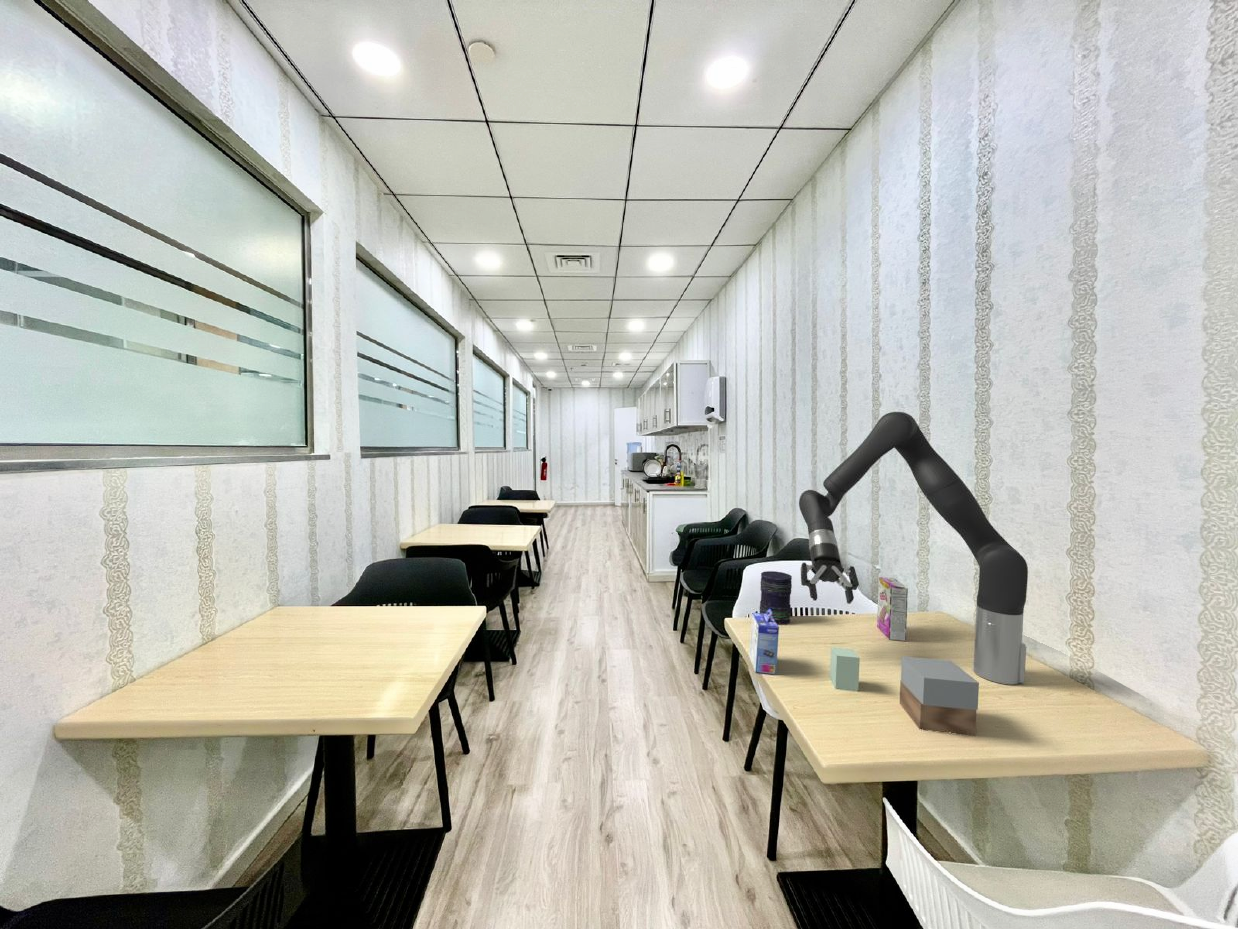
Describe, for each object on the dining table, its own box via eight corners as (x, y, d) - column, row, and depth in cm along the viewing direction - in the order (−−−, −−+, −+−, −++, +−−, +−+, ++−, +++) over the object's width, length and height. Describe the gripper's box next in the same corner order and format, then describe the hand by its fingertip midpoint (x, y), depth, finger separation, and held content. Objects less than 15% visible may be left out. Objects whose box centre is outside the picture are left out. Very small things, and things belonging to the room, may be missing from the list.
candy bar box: (875, 626, 151) (877, 576, 150) (892, 628, 150) (894, 577, 149) (888, 640, 140) (890, 586, 139) (906, 642, 139) (909, 587, 138)
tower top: (949, 685, 102) (951, 660, 102) (977, 710, 92) (979, 683, 92) (900, 680, 104) (901, 656, 103) (922, 704, 94) (924, 677, 94)
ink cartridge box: (778, 675, 116) (780, 617, 115) (755, 673, 116) (757, 616, 116) (769, 658, 126) (771, 604, 125) (748, 656, 126) (750, 603, 126)
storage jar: (764, 612, 162) (766, 569, 161) (794, 618, 156) (795, 574, 156) (754, 620, 154) (756, 575, 153) (785, 627, 148) (787, 581, 148)
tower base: (949, 710, 102) (950, 685, 102) (975, 737, 92) (976, 710, 92) (899, 704, 104) (900, 680, 104) (919, 730, 94) (920, 704, 94)
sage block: (851, 681, 114) (853, 649, 114) (858, 691, 109) (859, 657, 109) (829, 678, 115) (831, 646, 114) (835, 689, 110) (836, 655, 110)
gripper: (800, 539, 133) (806, 591, 122) (853, 543, 130) (865, 596, 119) (795, 554, 138) (801, 605, 127) (847, 557, 135) (857, 610, 125)
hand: (832, 600), depth 123 cm, fingers open, 8 cm apart
